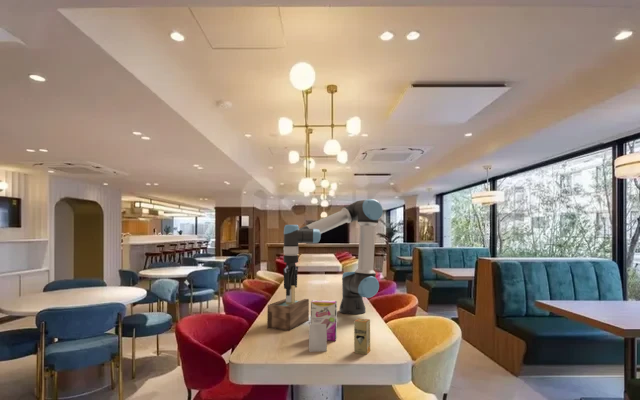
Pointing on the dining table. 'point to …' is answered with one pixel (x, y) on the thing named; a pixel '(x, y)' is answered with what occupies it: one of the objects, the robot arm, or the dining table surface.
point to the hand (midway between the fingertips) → (290, 301)
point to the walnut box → (287, 315)
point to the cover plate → (291, 298)
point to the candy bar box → (325, 316)
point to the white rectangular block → (317, 337)
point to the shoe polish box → (362, 336)
